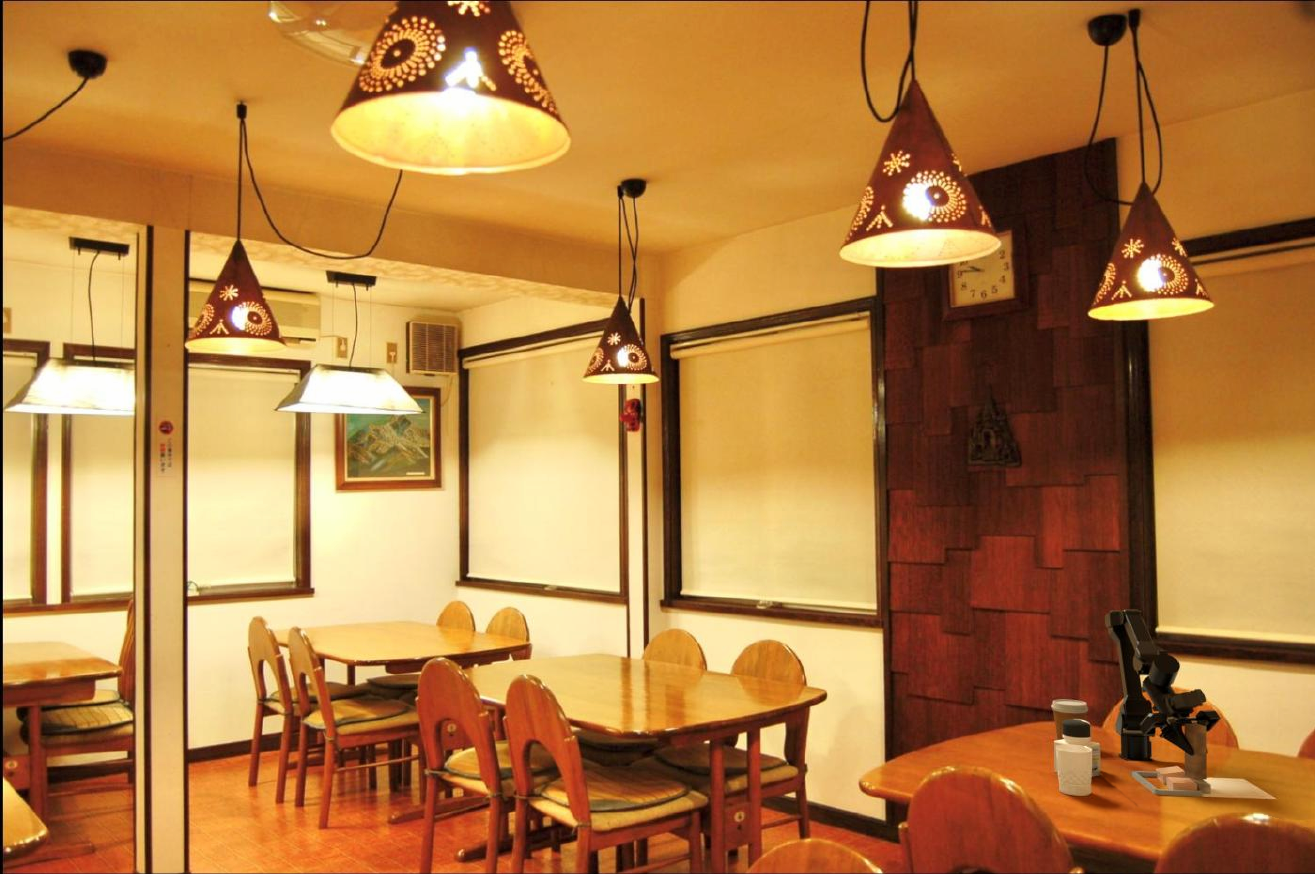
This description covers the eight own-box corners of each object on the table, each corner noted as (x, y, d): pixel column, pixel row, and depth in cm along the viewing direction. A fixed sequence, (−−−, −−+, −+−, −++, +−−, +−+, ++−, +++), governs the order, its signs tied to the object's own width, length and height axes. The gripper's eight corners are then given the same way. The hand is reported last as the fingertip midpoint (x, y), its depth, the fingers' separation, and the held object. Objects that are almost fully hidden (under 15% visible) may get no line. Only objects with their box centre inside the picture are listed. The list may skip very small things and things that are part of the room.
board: (1243, 783, 247) (1243, 778, 247) (1276, 804, 230) (1276, 798, 230) (1174, 781, 249) (1174, 776, 249) (1202, 801, 232) (1202, 796, 232)
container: (1079, 779, 251) (1078, 724, 252) (1053, 771, 258) (1052, 718, 259) (1101, 775, 255) (1100, 721, 255) (1075, 768, 261) (1074, 715, 262)
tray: (1174, 781, 249) (1174, 772, 249) (1202, 801, 232) (1202, 791, 232) (1131, 779, 250) (1131, 770, 251) (1155, 799, 234) (1155, 789, 234)
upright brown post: (1196, 780, 246) (1196, 720, 247) (1214, 794, 234) (1214, 731, 235) (1177, 778, 247) (1177, 719, 248) (1195, 792, 235) (1194, 730, 236)
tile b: (1180, 778, 247) (1177, 765, 247) (1187, 784, 242) (1184, 771, 242) (1158, 781, 248) (1155, 768, 248) (1164, 786, 243) (1161, 773, 243)
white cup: (1050, 787, 243) (1049, 744, 244) (1082, 787, 244) (1081, 743, 245) (1066, 797, 236) (1065, 752, 236) (1100, 796, 236) (1098, 751, 237)
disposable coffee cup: (1073, 752, 278) (1072, 706, 279) (1044, 744, 286) (1043, 700, 287) (1096, 748, 283) (1095, 703, 284) (1067, 741, 291) (1066, 697, 292)
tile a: (1190, 791, 239) (1189, 777, 240) (1197, 797, 234) (1196, 783, 235) (1166, 789, 240) (1166, 776, 240) (1173, 795, 235) (1173, 782, 236)
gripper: (1147, 678, 244) (1183, 736, 232) (1213, 675, 248) (1252, 732, 237) (1124, 706, 251) (1158, 763, 239) (1189, 702, 255) (1226, 759, 244)
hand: (1199, 754), depth 240 cm, fingers closed on upright brown post, 3 cm apart
